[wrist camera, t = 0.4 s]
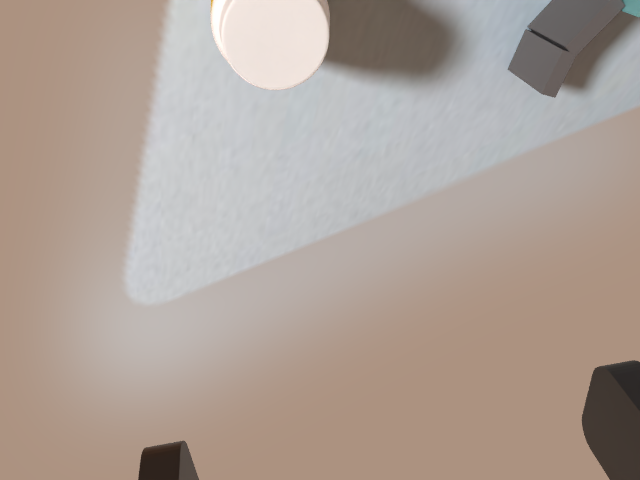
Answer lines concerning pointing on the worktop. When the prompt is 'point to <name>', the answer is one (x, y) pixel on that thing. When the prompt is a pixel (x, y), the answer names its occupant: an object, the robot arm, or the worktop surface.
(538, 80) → the pair of grey blocks
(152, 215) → the worktop surface
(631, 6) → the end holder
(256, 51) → the supplement bottle
